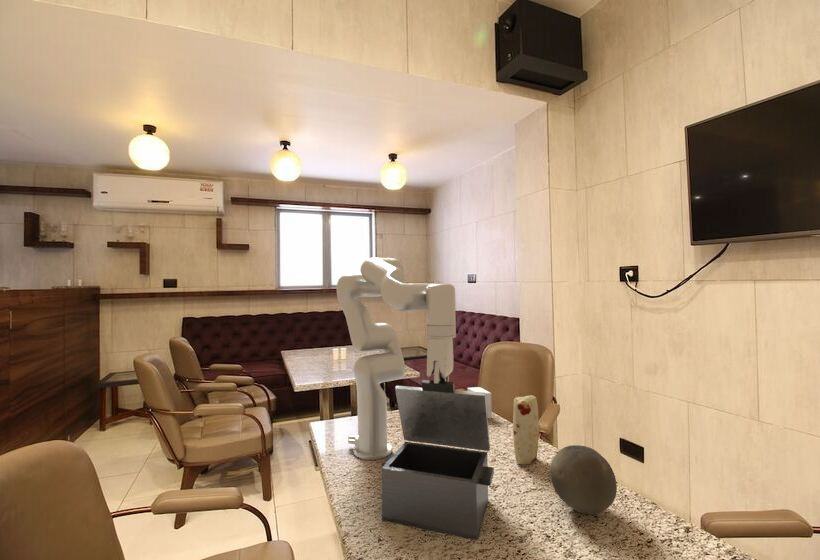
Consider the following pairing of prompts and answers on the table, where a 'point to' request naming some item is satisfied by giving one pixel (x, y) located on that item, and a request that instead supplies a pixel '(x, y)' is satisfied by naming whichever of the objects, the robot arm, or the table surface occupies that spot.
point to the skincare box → (488, 398)
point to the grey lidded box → (436, 488)
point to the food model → (525, 429)
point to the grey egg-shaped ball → (583, 479)
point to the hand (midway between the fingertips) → (442, 402)
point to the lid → (443, 415)
